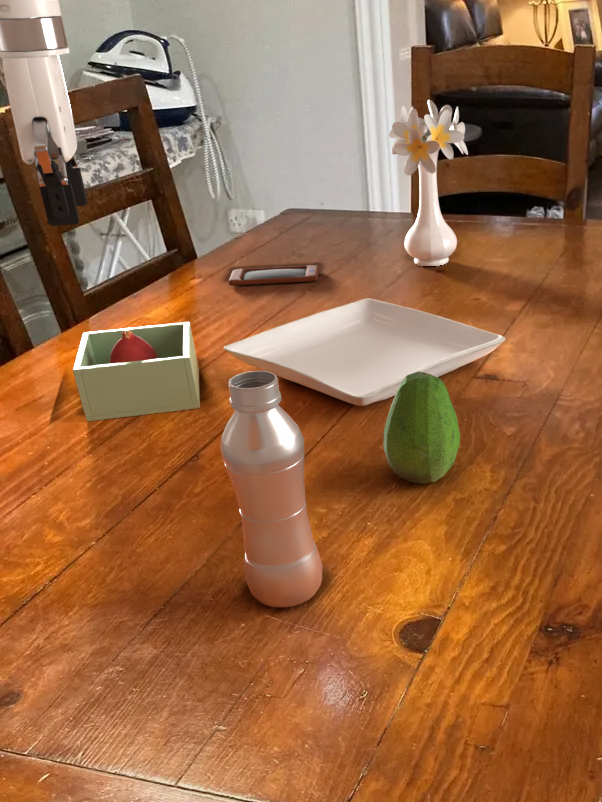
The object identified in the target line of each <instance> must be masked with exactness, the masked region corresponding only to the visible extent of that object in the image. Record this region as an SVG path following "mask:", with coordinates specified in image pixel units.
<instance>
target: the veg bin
mask: <svg viewBox="0 0 602 802" xmlns="http://www.w3.org/2000/svg"><path fill="white" fill-rule="evenodd" d="M124 330H129V331H131V332H132V333H133V334H134V335H136V336H138V337H140V338H142V339H143V340H145V341H146V342H147V343H149V344H150V345H151V346H152V347H153V349H154V350H155V352H156V354H157V357H158V359H151V360H142V361H133V362H123V363H114V364H111V362H110V355H111V351H112V349H113V347H114V346H115V344H116V343H117V342H118V340H120V339H121V338H122V334H121V333H122V332H123V331H124ZM72 373H73V377H74V380H75V384H76V387H77V391H78V395H79V398H80V402H81V406H82V409H83V412H84V413H83V414H84V417H85V420H86V422H96V421H103V420H112V419H120V418H128V417H129V418H130V417H137V416H138V417H139V416H145V415H146V416H147V415H155V414H165V413H171V412H180V411H188V410H197V409H200V407H201V403H200V401H201V399H200V397H201V396H200V394H201V393H200V367H199V362H198V357H197V351H196V348H195V342H194V337H193V332H192V326H191V322H190V321H183V322H181V321H180V322H173V323H164V324H154V325H144V326H134V327H124V328H115V329H114V328H113V329H106V330H95V331H85V332H82V335H81V339H80V341H79V345H78V351H77V354H76V357H75V361H74V364H73V368H72Z"/></svg>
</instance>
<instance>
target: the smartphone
mask: <svg viewBox="0 0 602 802" xmlns="http://www.w3.org/2000/svg"><path fill="white" fill-rule="evenodd" d="M319 271H320V266H319V265H317V264H315V265H313V264H312V265H310V264H309V265H293V266H292V265H291V266H290V265H289V266H273V267H272V266H271V267H252V268H251V267H250V268H237V269H233V270H232V272H231V275H230V277H229V279H228V285H229V286H249V285H269V284H289V283H290V284H291V283H307V282H317V281H318V278H319Z"/></svg>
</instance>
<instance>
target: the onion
mask: <svg viewBox="0 0 602 802" xmlns="http://www.w3.org/2000/svg"><path fill="white" fill-rule="evenodd" d="M121 334H122V338H121V339H120V340H118V342H117V343H116V344H115V346H114V347H113V349H112V351H111V355H110V362H111V364H114V363H123V362H133V361H142V360H151V359H158V357H157V354H156V352H155V350H154V349H153V347H152V346H151V345H150V344H149V343H147V342H146V341H145V340H143V339H142V338H140V337H138V336H136V335H134V334H133V333H132V332H131V331H129V330H124V331H123V332H122V333H121Z"/></svg>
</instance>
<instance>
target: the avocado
mask: <svg viewBox="0 0 602 802" xmlns="http://www.w3.org/2000/svg"><path fill="white" fill-rule="evenodd" d="M459 426H460V425H459V422H458V417H457V413H456V411H455V407H454V405H453V403H452V399H451V397H450V394H449V391H448V388H447V386H446V384H445V382H443V380H442V379H441V378H440V377H436V376H433V375H431V374H429V373H426V372H422V371H419V372H415V373H412V374H409V375H407V376H406V377H405V378H404V380H403V381H402V382H401V384H400V386H399V388H398V390H397V393H396V395H394V398H393V400H392V403H391V405H390V408H389V411H388V415H387V417H386V421H385V425H384V428H383V451H384V454H385V457H386V460H387V464H388V465H389V467H390V468H391V469H392V471H393V472H394V473H395V474H396V475H397V476H399V477H400V478H403V479H404V480H406V481H408V482H409V483H412V484H413V483H414V484H421V485H424V484H430V483H436V482H437V481H439V480H440V479H442V478H443V477H444V476H446V474H447V473H448V471H450V470H451V468H452V467H453V465H454V463H455V461H456V459H457V455H458V452H459V447H460V444H461V432H460V427H459Z"/></svg>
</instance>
